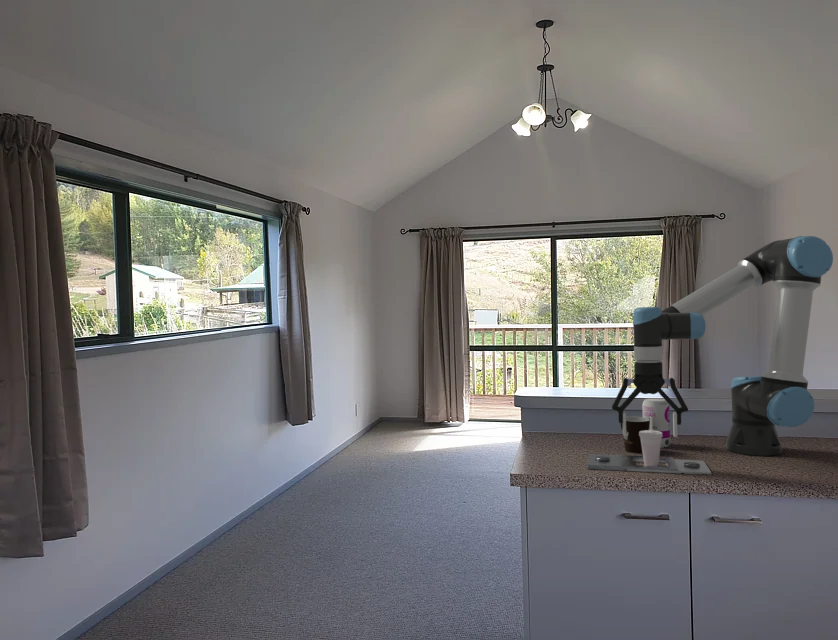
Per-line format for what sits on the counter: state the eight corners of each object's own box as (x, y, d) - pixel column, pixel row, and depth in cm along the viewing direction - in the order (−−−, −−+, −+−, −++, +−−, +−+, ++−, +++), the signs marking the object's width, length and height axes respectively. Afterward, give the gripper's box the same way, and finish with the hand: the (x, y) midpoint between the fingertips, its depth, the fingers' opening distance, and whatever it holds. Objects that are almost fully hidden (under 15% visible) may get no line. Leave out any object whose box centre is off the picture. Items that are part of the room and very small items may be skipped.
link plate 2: (703, 462, 176) (703, 458, 176) (711, 474, 164) (711, 470, 164) (624, 459, 182) (624, 455, 182) (626, 470, 170) (626, 466, 170)
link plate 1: (672, 461, 178) (672, 455, 178) (678, 473, 166) (678, 466, 166) (588, 457, 185) (588, 451, 185) (588, 469, 173) (587, 462, 173)
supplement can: (672, 444, 200) (671, 398, 200) (667, 449, 193) (666, 402, 193) (646, 441, 205) (645, 397, 204) (640, 446, 198) (639, 400, 197)
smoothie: (666, 465, 174) (665, 416, 174) (658, 470, 169) (657, 420, 169) (644, 462, 179) (643, 414, 178) (635, 466, 174) (634, 417, 174)
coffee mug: (652, 454, 188) (651, 421, 187) (623, 453, 189) (622, 421, 189) (646, 445, 199) (645, 415, 199) (618, 445, 201) (618, 414, 200)
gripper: (693, 359, 174) (695, 433, 174) (602, 360, 181) (603, 431, 181) (697, 362, 166) (699, 439, 167) (602, 362, 173) (604, 436, 174)
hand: (649, 435), depth 174 cm, fingers open, 13 cm apart
